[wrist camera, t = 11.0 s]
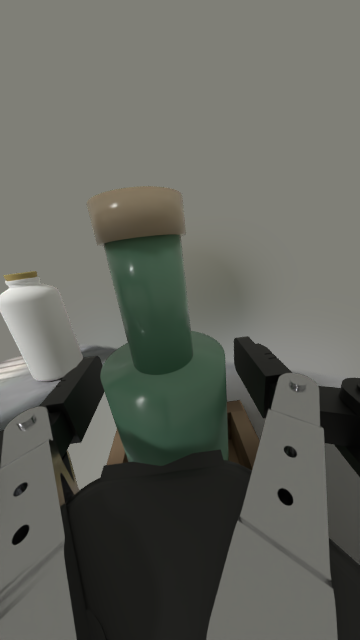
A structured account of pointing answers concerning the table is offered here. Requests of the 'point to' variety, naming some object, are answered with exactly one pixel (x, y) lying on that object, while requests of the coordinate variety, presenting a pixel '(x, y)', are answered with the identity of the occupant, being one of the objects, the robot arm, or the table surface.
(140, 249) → the bottle
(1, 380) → the table surface
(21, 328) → the potion bottle
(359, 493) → the table surface
